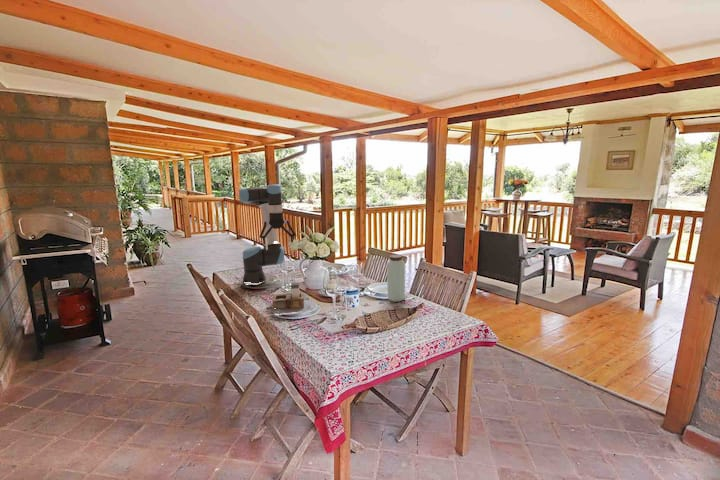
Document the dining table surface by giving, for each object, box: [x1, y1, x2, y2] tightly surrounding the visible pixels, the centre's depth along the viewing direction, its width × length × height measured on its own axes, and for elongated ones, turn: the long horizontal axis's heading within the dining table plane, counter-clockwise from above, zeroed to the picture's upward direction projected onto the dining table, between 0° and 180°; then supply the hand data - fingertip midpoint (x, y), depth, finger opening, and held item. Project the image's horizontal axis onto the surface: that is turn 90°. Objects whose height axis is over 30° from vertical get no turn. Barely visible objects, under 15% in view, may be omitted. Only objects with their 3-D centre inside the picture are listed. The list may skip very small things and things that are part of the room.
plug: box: [290, 281, 301, 298], centre depth 193 cm, size 4×4×12 cm
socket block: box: [272, 291, 305, 310], centre depth 193 cm, size 10×16×6 cm, turn 99°
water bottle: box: [386, 254, 406, 302], centre depth 198 cm, size 10×10×25 cm
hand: (278, 248), depth 204 cm, fingers open, 13 cm apart
